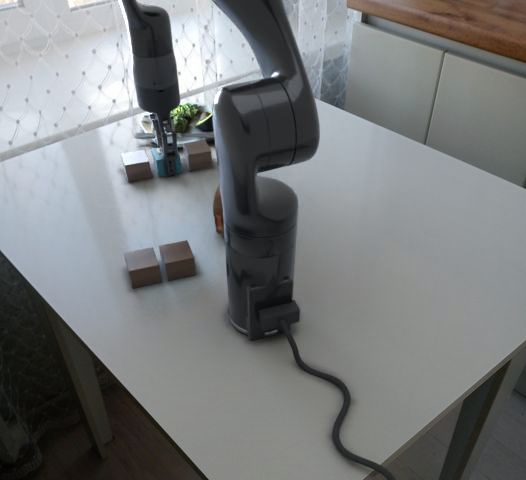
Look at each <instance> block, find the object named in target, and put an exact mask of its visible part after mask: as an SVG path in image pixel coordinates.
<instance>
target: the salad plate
mask: <svg viewBox="0 0 526 480" xmlns="http://www.w3.org/2000/svg"><path fill="white" fill-rule="evenodd" d="M212 108H213V107H210V106H209V105H208V104H205V103H201V102H192V101H191V102H184V103H180V104H179V106H178V107H177V108H176V109H174V110H172V111H171V117H173V118H174V122H175V127H174V131H175V132H176V133H177V148H183V143H189V142H195V141H201V140H205V141H206V142H207V143H210V142H215V140H214V132H213V122H212ZM138 122H139V126H140V128H141V129H142V131H143V132H136V133H135V134H134V138H135V139H137V140H143V141H149V142H151V143H154V144H157V143H156V141H155V135H153V132H152V128H151V122H150V119H149V112H146V113H145V114H143V115H142V116H141V118H140V119H139V121H138Z"/></svg>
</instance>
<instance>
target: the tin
mask: <svg viewBox="0 0 526 480" xmlns="http://www.w3.org/2000/svg"><path fill="white" fill-rule="evenodd" d="M213 197H214V198H213V204H212V213H213V219H214V224H215V225H214V226H215V232H216V233H217V235H219V236H224V219H223V206H222V199H221V193H220V186H219V184H218V186H217V188H216V190H215V193H214V196H213Z"/></svg>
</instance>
